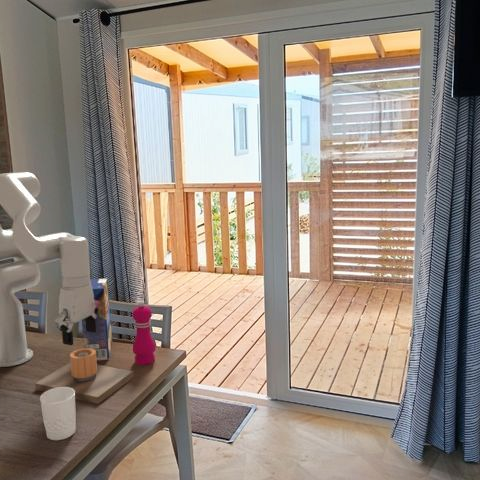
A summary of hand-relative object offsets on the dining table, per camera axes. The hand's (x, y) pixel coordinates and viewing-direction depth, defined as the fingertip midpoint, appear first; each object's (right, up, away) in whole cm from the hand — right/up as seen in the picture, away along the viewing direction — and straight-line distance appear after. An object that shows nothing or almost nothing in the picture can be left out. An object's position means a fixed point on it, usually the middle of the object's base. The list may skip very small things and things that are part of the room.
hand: (80, 337), depth 140 cm
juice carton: (-1, -10, +23) cm, 26 cm away
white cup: (+3, -19, -22) cm, 29 cm away
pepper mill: (+15, -11, +17) cm, 25 cm away
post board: (+1, -14, +2) cm, 14 cm away
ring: (+1, -10, +2) cm, 11 cm away
